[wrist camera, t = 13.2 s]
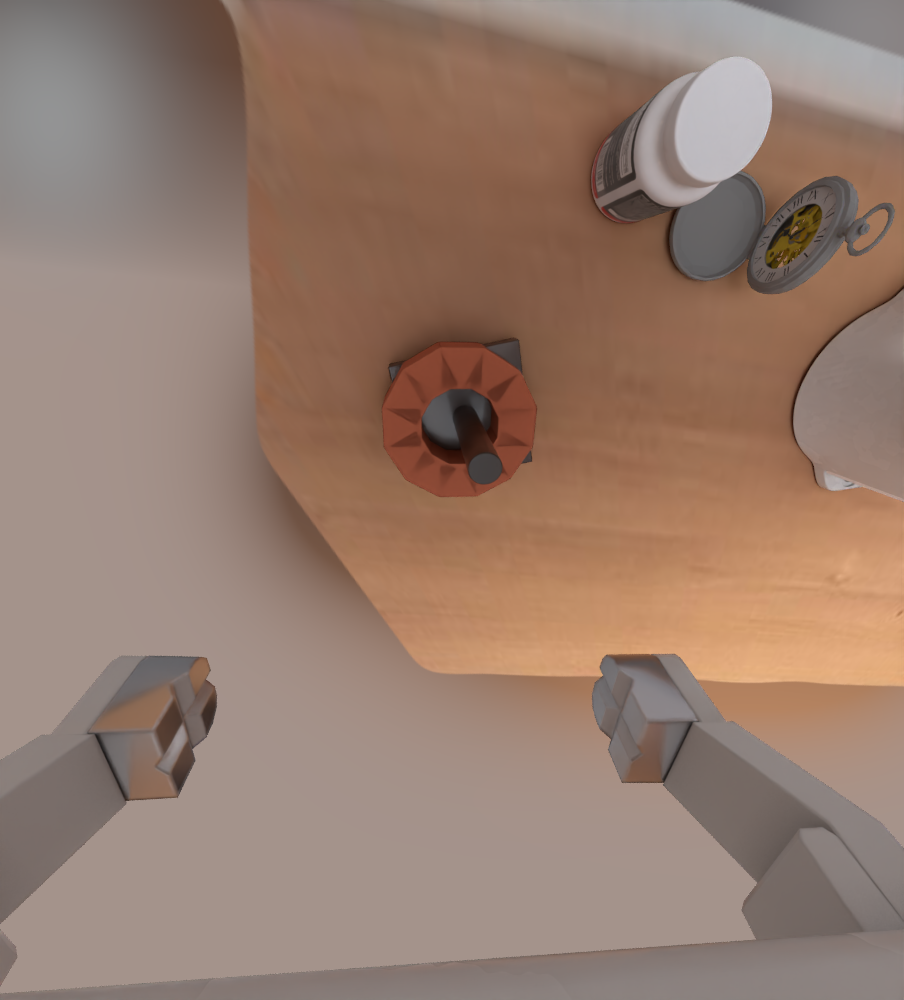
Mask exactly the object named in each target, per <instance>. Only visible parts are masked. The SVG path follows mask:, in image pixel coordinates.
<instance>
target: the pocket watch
mask: <svg viewBox="0 0 904 1000" xmlns="http://www.w3.org/2000/svg"><path fill="white" fill-rule="evenodd" d="M765 209H766V205H765V199H764V195H763V192H762V189H761V188H760V186H759V185H758V183H757V182H756V181H755V179H754V178H753V177H751V176H750V175H748V174H747V173H745V172H742V171H739V172H738V173H736V174H735V175H733V176H732V177H730V178H728V179H726V180H724V181H721V182H720V183H719V184H718V185H717V186H716V187H715V188H714V189H713V190H712V191H711V192H710V193H708V194H707V195H706V196H704V197H703V198H701V199H699V200H697V201H695V202H693V203H691V204H688V205H686V206H682V207H679V208H678V209H677V211H676V213H675V215H674V218H673V221H672V225H671V230H670V238H669V241H670V250H671V256H672V258H673V260H674V263H675V265H676V266H677V267H678V269H679V270H680V271H681V272H682V273H683V274H684V275H686V276H687V277H690V278H691V279H695V280H701V281H709V280H715V279H718V278H721V277H724V276H726V275H728V274H729V273H731V272H733V271H734V270H736V269H737V268H738V267H739V266H740V265H741V264H742V263H743V262H744V261H745V260H746V259H748V260H749V263H748V268H747V278H748V283H749V285H750V286H751V288H752V289H754V290H756V291H757V292H759V293H763V294H780V293H783V292H787V291H789V290H792V289H794V288H796V287H797V286H799V285H801V284H802V283H804V282H805V281H807V280H808V279H809V278H810V277H812V276H813V275H814V274H815V273H817V272H818V271H819V270H820V269H821V268H822V267H823V266H824V265H825V264H826V263H827V262H828V261H829V260H830V259H831V257H832V256H833V255H834V254H835V252H836V251H837V250H838V248H839V247H840V246H841V244H842V243H843V241H844V240H845V241H846V242H847V243H848V246H847V250H848V253H849V254H850V255H851V256H859V255H862V254H864V253H866V252H868V251H869V250H870V249H872V248H873V247H874V246H875V245H876V244H878V243H879V242H880V240H881V239H882V238H883V237H884V236H885V234H886V232H887V231H888V229H889V228H890V226H891V224H892V222H893V219H894V213H895V209H894V207H893V205H892V204H891V203H882V204H879V205H878V206H876V207H874V208H873V209H871V210H870V211H869V212H868V213H867V214H866V215H864V216H863V217H862V218H859V219H857V220H856V221H854V220H855V217H856V213H857V210H858V195H857V191H856V190H855V188H854V187H853V184H851V183H850V182H848V181H847V180H845V179H843V178H841V177H838V176H832V177H824V178H822V179H819V180H817V181H815V182H812V183H811V184H809V185H808V186H806V187H805V188H803V189H802V190H800V191H798V192H797V193H796V194H795V195H794V196H793V197H792V198H791V199H790V200H788V201H787V202H786V203H785V204H784V205H783V206H782V207H781V208H780V209H779V210H778V211H777V212H776V213H775V215H774V216H773V217H772V219H771V220H770V221H769V222H768V224H767V225H764V222H765ZM880 209H886V210H887V212H888V221H887V224H886V226H885V228H884V230H883V231H882V233H881V234H880V235H879V236H878V237H877V238H876V240H875V241H874V242H873V243H872V244H871V245H869V246H868V247H866V248H864V249H862V250H860V251H856V250H855V249H854V248H853V242H854V241H856V240H857V239H858V238H859V237H860V236H861V235H864V234H866V233H867V232H868V231H869V229H870V226H869V224H866V223H867V222H866V219H867V218H868V217H869V216H870V215H872V214H873V213H874V212H876V211H878V210H880ZM804 218H805V221H804V222H803V220H804ZM802 222H803V223H802ZM798 223H800V224H798ZM795 226H798V230H796V231H795V232H794V233H793V234H792V235H791V231H792V230H793V228H794V227H795ZM799 248H800V251H799ZM783 250H784V252H783ZM794 250H795V251H796V250H797V251H796V252H794ZM798 251H799V252H798ZM778 252H779V254H778ZM782 252H783V254H782V256H780V255H781V253H782ZM798 255H799V256H798ZM786 256H788V258H787V260H786V261H785V262H786V263H785V262H784V260H783V259H785V258H784V257H786ZM797 256H798V257H797ZM780 257H781V259H780V260H779V261H778V260H777V258H780ZM792 258H794V260H792ZM782 260H783V264H784V263H785V264H784V265H785V266H784V265H783V267H781V268H777V267H778V266H779V264H780V263H781V262H782ZM790 260H791V262H790ZM789 262H790V263H789Z"/></svg>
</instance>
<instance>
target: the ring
mask: <svg viewBox="0 0 904 1000" xmlns="http://www.w3.org/2000/svg"><path fill="white" fill-rule="evenodd" d="M450 389H472V390H474V391H476V392H477V393H479V394H481V395H482V396H484V397H485V398H487V399H488V401H489V403H490V405H491V407H492V409H491V425H490V427H489V429H488V430H487V434H488V436H489V438H490V440H491V442H492V444H493V446H494V448H495V450H496V452H497V454H498V456H499V458H500V460H501V462H502V473H501V475H500V476H499V478H498V479H497V480H496V481H494V482H493V483H490V484H485V485H483V484H478V483H476V482H474V481H473V480H472V479H471V478H470V476H469V474H468V470H467V467H466V464H465V460H464V457H463V453H462V450H445V449H444V448H442V447H440V446H438V445H436V444H435V443H433V442H431V441H430V440H429V438H428V436H427V435H426V433H425V431H424V430H423V428H422V416H423V415H424V413H425V411H426V409H427V408H428V406H429V404H430V402H431V401H432V399H434V398H436V397H438V396H439V395H441V394H443V393H445V392H446V391H448V390H450ZM536 413H537V406H536V404H535V402H534V400H533V398H532V395H531V393H530V391H529V389H528V387H527V385H526V382H525V380H524V378H523V376H522V374H521V372H520V371H519V370H518V369H517V368H516V367H515V366H513V365H512V364H511V363H509V362H508V361H506V360H505V359H503V358H501V357H500V356H498V355H497V354H495V353H494V352H492V351H491V350H489V349H488V348H486V347H485V346H483V345H481V344H480V343H476V342H437V343H435V344H434V345H432V346H430V347H429V348H427V349H425V350H424V351H422V352H420V353H419V354H417V355H415V356H414V357H412V358H410V359H409V360H407V361H405V362H404V363H403V364H402V366H401V368H400V370H399V371H398V373H397V375H396V377H395V379H394V381H393V383H392V385H391V386H390V388H389V390H388V392H387V394H386V396H385V399H384V402H383V406H382V419H383V438H384V447H385V450H386V451H387V453H388V454H389V456H390V457H391V459H392V460H393V462H394V463H395V465H396V466H397V468H398V469H399V471H400V472H401V474H402V475H403V477H404V478H405V479H406V480H407V481H409V482H411V483H413V484H415V485H417V486H419V487H421V488H423V489H425V490H427V491H429V492H431V493H433V494H434V495H436V496H439V497H463V496H478V495H480V494H482V493H484V492H486V491H488V490H490V489H492V488H493V487H495V486H497V485H499V484H501V483H503V482H505V481H507V480H509V479H510V478H511V477H512V476H513V474H514V473H515V471H516V470H517V469H518V467H519V466H520V464H521V463H522V461H523V460H524V459H525V457H526V456H527V454H528V453H529V452H530V450H531V449H532V447H533V440H534V431H535V422H536Z"/></svg>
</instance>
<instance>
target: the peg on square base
mask: <svg viewBox="0 0 904 1000" xmlns="http://www.w3.org/2000/svg"><path fill="white" fill-rule="evenodd" d="M482 345H483V346H485V347H486V348H488V349H489V350H491V351H492V352H494V353H495V354H497V355H498V356H500V357H501V358H503V359H505V360H506V361H508V362H509V363H511V364H512V365H513V366H515V367H516V368H517V369H518V370H519V371H520V372H521V374H522V365H521V356H520V347H519V340H518V339H516V338H510V339H506V340H501V341H496V342H491V343H487V344H482ZM406 361H407V360H406ZM404 362H405V361H401V362H396V363H391V364H389V372H390V376H391V380H392V383H393V381H394V379H395V377H396V375H397V373H398V371H399V370H400V368H401V366H402V364H403V363H404ZM522 376H523V374H522ZM491 409H492V407H491V405H490V403H489V401H488V399H487V398H485V397H484V396H482V395H481V394H479V393H477V392H476V391H474V390H472V389H450V390H448V391H446V392H445V393H443V394H441V395H439V396H438V397H436V398H434V399H432V401H431V402H430V404H429V406H428V408H427V409H426V411H425V413H424V415H423V416H422V428H423V430H424V431H425V433H426V435H427V436H428V438H429V440H430V441H431V442H433V443H435V444H436V445H438V446H440V447H442V448H444V449H445V450H462V453H463V457H464V460H465V464H466V467H467V470H468V474H469V476H470V478H471V479H472V480H473V481H474V482H476V483H478V484H483V485H485V484H490V483H493V482H494V481H496V480H497V479H498V478H499V476H500V475H501V473H502V462H501V460H500V458H499V456H498V454H497V452H496V450H495V448H494V446H493V444H492V442H491V440H490V438H489V436H488V434H487V430H488V429H489V427H490V425H491ZM527 462H532V456H531V450H530V452H529V453H528V454H527V456H526V457H525V459H524V460H523V461H522V463H527ZM522 463H521V464H522Z"/></svg>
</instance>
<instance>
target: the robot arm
mask: <svg viewBox="0 0 904 1000" xmlns="http://www.w3.org/2000/svg"><path fill="white" fill-rule="evenodd" d="M793 427H794V434H795V437H796V440H797V443H798V445H799V447H800V448H801V450H802V451H803V452H804V453H805V455H806V456H807V457H808V458H809V459H810V460H811V461H812V463H813V465H814V470H815V477H816V481H817V483H818V485H819V486H820V487H822V488H825V489H828V490H830V491H838V490H845V489H852V488H858V487H865V488H867V489H870V490H873V491H875V492H878V493H881V494H884V495H886V496H889V497H892V498H894V499H897V500H900V501H902V502H904V289H903V290H902V291H901V292H900V293H899V294H898V295H896V296H895V297H894V298H893V299H891V300H890V301H888V302H887V303H885V304H883V305H882V306H880V307H878V308H876V309H874V310H872V311H870V312H868V313H866V314H865V315H863V316H861V317H860V318H858V319H857V320H855V321H854V322H853V323H851V324H850V325H849V326H847V327H846V328H845V329H844V330H842V331H841V332H840V333H839V334H838V335H837V336H836V337H835V338H834V339H833V340H832V341H831V342H830V343H829V344H828V345H827V346H826V347H825V349H824V350H823V351H822V352H821V353H820V355H819V356H818V357H817V359H816V360H815V362H814V363H813V365H812V366H811V368H810V369H809V371H808V373H807V375H806V376H805V378H804V380H803V383H802V385H801V387H800V390H799V392H798V395H797V399H796V403H795V407H794V414H793ZM600 670H601V672H602V674H603V676H602V677H601V678H600V679H599V680H597V681H596V682H595V685H594V688H593V692H592V702H593V711H594V715H595V718H596V721H597V724H598V726H599V728H600V730H601V731H602V732H604V733H605V734H606V735H607V736H608V737H609V738H610V739H611V742H610V745H609V749H608V750H609V753H610V755H611V757H612V760H613V762H614V765H615V767H616V770H617V772H618V774H619V777H620V779H621V782H622V783H664V784H663V786H665V787H666V789H667V790H668V791H669V792H670V793H671V794H672V795H673V796H674V797H675V798H676V799H677V800H678V801H679V802H680V803H681V804H682V805H683V806H684V807H685V808H686V809H687V810H688V811H689V812H690V813H691V815H692V816H693V817H695V819H696V820H697V821H698V822H699V823H700V824H701V825H702V826H703V827H704V828H705V829H706V830H707V831H708V832H709V833H710V834H711V835H712V836H713V837H714V838H715V839H716V840H717V841H718V842H719V843H720V845H721V846H722V847H723V848H724V849H725V850H726V851H727V852H728V853H729V854H730V855H731V856H732V857H733V858H734V859H735V860H736V861H737V862H738V863H739V864H740V865H741V866H742V867H743V868H744V869H745V870H746V871H747V873H749V875H750V876H751V877H752V878H753V879H754V880H755V881H756V882H757V885H756V886H755V887H754V889H753V890H752V891H751V892H750V894H749V895H748V896H747V898H746V899H745V900H744V903H743V907H742V912H743V914H744V916H745V918H746V920H747V922H748V924H749V926H750V928H751V930H752V932H753V934H754V936H755V938H756V940H745V941H731V942H718V943H704V944H690V945H676V946H661V947H647V948H633V949H619V950H605V951H591V952H576V953H563V954H550V955H549V954H548V955H535V956H520V957H506V958H492V959H478V960H464V961H450V962H437V963H422V964H408V965H394V966H380V967H366V968H352V969H338V970H324V971H310V972H296V973H282V974H268V975H254V976H240V977H226V978H212V979H198V980H184V981H171V982H157V983H142V984H129V985H116V986H102V987H101V986H100V987H87V988H73V989H59V990H45V991H30V992H17V993H3V994H0V1000H904V848H903V847H902V846H901V845H900V843H899V842H898V841H897V840H896V839H895V838H894V836H893V835H892V834H891V833H890V832H889V831H888V830H887V828H886V827H885V826H884V825H883V824H882V823H881V822H880V821H878V820H877V819H875V818H874V817H872V816H871V815H869V814H868V813H867V812H865V811H864V810H862V809H860V808H859V807H858V806H856V805H855V804H853V803H852V802H851V801H849V800H848V799H846V798H845V797H843V796H842V795H840V794H839V793H837V792H836V791H834V790H833V789H832V788H830V787H829V786H827V785H826V784H824V783H823V782H821V781H819V780H818V779H817V778H815V777H814V776H812V775H811V774H810V773H808V772H807V771H805V770H803V769H802V768H801V767H799V766H798V765H796V764H795V763H793V762H792V761H791V760H789V759H787V758H786V757H785V756H783V755H782V754H780V753H778V752H777V751H776V750H774V749H773V748H771V747H770V746H768V745H767V744H765V743H764V742H763V741H761V740H760V739H758V738H757V737H755V736H754V735H752V734H751V733H750V732H748V731H746V730H745V729H744V728H742V727H741V726H739V725H738V724H736V723H735V722H733V721H726V720H725V719H724V718H723V716H722V715H721V714H720V712H719V711H718V709H717V708H716V707H715V705H714V704H713V702H712V701H711V700H710V698H709V697H708V695H707V694H706V693H705V691H704V690H703V689H702V687H701V686H700V684H699V683H698V682H697V680H696V679H695V677H694V676H693V674H692V673H691V672H690V670H689V669H688V668H687V666H686V665H685V663H684V662H683V661H682V659H681V658H680V657H678V656H677V655H676V654H651V655H650V654H619V655H606V656H605V657H604V658H603V659H602V662H601V665H600ZM209 672H210V667H209V663H208V660H207V658H204V657H182V656H179V657H178V656H120V657H118V658H117V659H115V660H113V661H112V662H111V663H110V664H109V665H108V666H107V668H106V669H105V670H104V671H103V672H102V674H101V675H100V676H99V677H98V678H97V680H96V681H95V682H94V683H93V684H92V686H91V687H90V688H89V689H88V690H87V692H86V693H85V694H84V695H83V696H82V698H81V699H80V700H79V701H78V702H77V704H76V705H75V706H74V707H73V708H72V710H71V711H70V712H69V713H68V715H67V716H66V717H65V718H64V719H63V720H62V722H61V723H60V724H59V725H58V727H57V728H56V729H55V730H54V731H53V733H52V734H51V735H41V736H39V737H37V738H36V739H34V740H32V741H31V742H29V743H28V744H26V745H24V746H23V747H21V748H19V749H18V750H16V751H14V752H13V753H11V754H10V755H8V756H6V757H5V758H3V759H1V760H0V924H1V922H3V921H4V920H5V919H6V918H7V917H8V916H9V915H10V914H11V913H12V912H13V911H14V910H15V909H16V908H18V907H19V906H20V905H21V904H22V903H23V902H24V901H25V900H26V899H27V898H28V897H29V896H30V895H31V894H32V893H33V892H34V891H35V890H36V889H37V888H39V886H41V885H42V884H43V883H44V882H45V881H46V880H47V879H48V878H49V877H50V876H51V875H52V874H53V873H54V872H55V871H56V870H57V869H58V868H60V867H61V866H62V864H64V863H65V862H66V861H67V860H68V859H69V858H70V857H71V856H72V855H73V854H74V853H75V852H76V851H77V850H78V849H79V848H81V847H82V846H83V845H84V844H85V843H86V842H87V841H88V840H89V839H90V838H91V837H92V836H93V835H94V834H95V833H96V832H97V831H98V830H99V829H100V828H102V827H103V826H104V825H105V824H106V823H107V822H108V821H109V820H110V819H111V818H112V817H113V816H114V815H115V814H116V813H117V812H118V811H119V810H120V809H122V808H123V807H124V806H125V805H126V801H129V800H146V799H161V798H176V797H178V796H179V794H180V792H181V790H182V787H183V785H184V783H185V781H186V779H187V777H188V775H189V773H190V771H191V769H192V766H193V765H194V762H195V757H194V753H193V750H192V749H193V748H194V747H195V746H196V745H198V744H199V743H200V742H201V741H202V740H204V739H205V738H206V737H207V735H208V733H209V730H210V728H211V726H212V724H213V720H214V716H215V712H216V708H217V695H216V690H215V686H213V685H212V684H211V683H210V682H209V681H207V680H206V678H207V676H208V674H209ZM16 959H17V953H16V946H15V945H14V944H13V943H12V942H11V941H10V940H9V939H8V937H7V936H6V935H5V934H4V933H3V932H2V931H1V930H0V986H1V984H2V982H3V981H4V979H5V977H6V976H7V974H8V972H9V970H10V969H11V967H12V965H13V964H14V962H15V960H16Z"/></svg>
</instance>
